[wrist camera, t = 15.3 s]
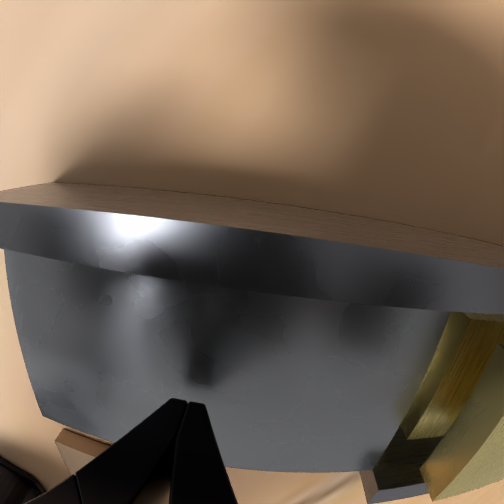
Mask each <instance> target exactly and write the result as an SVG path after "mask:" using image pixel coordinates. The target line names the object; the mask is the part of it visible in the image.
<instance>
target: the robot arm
mask: <svg viewBox="0 0 504 504" xmlns="http://www.w3.org/2000/svg"><path fill="white" fill-rule="evenodd" d="M75 475H76V476H75ZM75 475H74V474H72V475H71V476H69V477H68V478H67V479H65V480H64V481H62V482H61V483H59V484H58V485H56V486H55V487H53V488H52V489H50V490H48V491H47V492H45V491H44V490H43V488H42V487H41V485H40V484H39V482H38V481H37V480H36V479H35V478H34V477H32V476H31V475H29V474H27V473H25V472H23V471H21V470H20V469H18V468H16V467H14V466H13V465H11V464H9V463H8V462H6V461H5V460H3V459H1V458H0V504H168V503H169V504H238V503H237V500H236V497H235V494H234V492H233V489H232V486H231V483H230V480H229V477H228V475H227V472H226V469H225V466H224V463H223V460H222V457H221V454H220V450H219V447H218V444H217V441H216V438H215V435H214V431H213V428H212V425H211V421H210V418H209V415H208V411H207V408H206V405H205V404H203V403H198V402H193V401H190V402H187V401H186V400H182V399H177V398H170V399H169V400H167V401H166V402H165V403H164V404H163V405H161V406H160V407H159V408H158V409H157V410H155V411H154V412H153V413H152V414H150V415H149V416H148V417H147V418H145V419H144V420H143V421H142V422H140V423H139V424H138V425H137V426H135V427H134V428H133V429H132V430H130V431H129V432H128V433H127V434H125V435H124V436H123V437H122V438H120V439H119V440H118V441H116V442H115V443H114V444H112V445H111V446H110V447H109V448H107V449H106V450H105V451H103V452H102V453H101V454H99V455H98V456H97V457H95V458H94V459H93V460H91V461H90V462H89V463H87V464H86V465H85V466H83V467H82V468H81V469H79V470H78V471H76V472H75Z"/></svg>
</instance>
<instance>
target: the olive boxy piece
mask: <svg viewBox="0 0 504 504" xmlns="http://www.w3.org/2000/svg"><path fill="white" fill-rule="evenodd" d="M400 425H401V427H402V430H403V432H404V434H405V437H406V439H407V440H409V439H419V438H428V437H437V436H444V435H445V436H444V437H443V439H442V440H441V441H440V443H439V444H438V445H437V447H436V448H435V450H434V451H433V452H432V454H431V455H430V456H429V457H428V459H427V460H426V461H425V463H424V464H423V465H422V466H421V468H420V472H421V474H422V477H423V479H424V481H425V484H426V486H427V489H428V491H429V494H430V496H431V499H432V502H433V501H437V500H441V499H444V498H448V497H452V496H455V495H459V494H462V493H465V492H468V491H471V490H474V489H477V488H480V487H483V486H486V485H489V484H491V483H494V482H497V481H499V480H502V479H504V315H503V314H483V313H467V312H450V315H449V318H448V321H447V324H446V326H445V329H444V332H443V334H442V337H441V339H440V342H439V344H438V347H437V349H436V352H435V354H434V357H433V359H432V361H431V364H430V366H429V368H428V370H427V373H426V375H425V377H424V379H423V381H422V383H421V385H420V387H419V390H418V392H417V394H416V396H415V398H414V400H413V402H412V404H411V405H410V407H409V409H408V411H407V413H406V415H405V417H404V419H403V420H402V422H401V424H400Z"/></svg>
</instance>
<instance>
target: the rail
mask: <svg viewBox="0 0 504 504" xmlns="http://www.w3.org/2000/svg"><path fill="white" fill-rule="evenodd" d="M0 248H2V249H4V254H5V263H6V272H7V280H8V287H9V293H10V299H11V305H12V310H13V315H14V320H15V325H16V330H17V334H18V338H19V343H20V347H21V350H22V354H23V358H24V362H25V365H26V369H27V372H28V375H29V378H30V382H31V385H32V388H33V391H34V394H35V397H36V400H37V402H38V405H39V408H40V411H41V413H42V416H44V417H47V418H49V419H51V420H54V421H56V422H58V423H61V424H63V425H66V426H68V427H71V428H73V429H76V430H79V431H81V432H84V433H87V434H90V435H93V436H95V437H98V438H101V439H104V440H107V441H111V442H114V443H115V442H116V441H118V440H119V439H120V438H122V437H123V436H124V435H125V434H127V433H128V432H129V431H130V430H132V429H133V428H134V427H135V426H137V425H138V424H139V423H140V422H142V421H143V420H144V419H145V418H147V417H148V416H149V415H150V414H152V413H153V412H154V411H155V410H157V409H158V408H159V407H160V406H161V405H163V404H164V403H165V402H166V401H167V400H169V399H170V398H177V399H182V400H186V401H187V402H190V401H193V402H198V403H203V404H205V405H206V408H207V411H208V415H209V418H210V421H211V425H212V428H213V431H214V435H215V438H216V441H217V444H218V447H219V450H220V454H221V457H222V460H223V463H224V466H225V467H231V468H240V469H250V470H261V471H277V472H349V471H359V472H360V475H361V479H362V483H363V487H364V491H365V496H366V500H367V504H372V503H380V502H386V501H392V500H398V499H404V498H409V497H414V496H419V495H423V494H427V493H429V491H428V489H427V486H426V484H425V481H424V479H423V477H422V474H421V472H420V468H421V466H422V465H423V464H424V463H425V461H426V460H427V459H428V457H429V456H430V455H431V454H432V452H433V451H434V450H435V448H436V447H437V445H438V444H439V443H440V441H441V440H442V439H443V437H444V436H445V435H444V436H437V437H428V438H419V439H409V440H407V439H406V437H405V434H404V432H403V430H402V427H401V425H400V424H401V422H402V420H403V419H404V417H405V415H406V413H407V411H408V409H409V407H410V405H411V404H412V402H413V400H414V398H415V396H416V394H417V392H418V390H419V387H420V385H421V383H422V381H423V379H424V377H425V375H426V373H427V370H428V368H429V366H430V364H431V361H432V359H433V357H434V354H435V352H436V349H437V347H438V344H439V342H440V339H441V337H442V334H443V332H444V329H445V326H446V324H447V321H448V318H449V315H450V312H467V313H483V314H503V315H504V246H500V245H496V244H492V243H488V242H483V241H479V240H475V239H470V238H466V237H461V236H457V235H452V234H447V233H443V232H438V231H433V230H428V229H423V228H418V227H413V226H408V225H403V224H397V223H392V222H387V221H381V220H376V219H370V218H364V217H359V216H353V215H347V214H341V213H335V212H329V211H322V210H316V209H309V208H303V207H296V206H289V205H282V204H275V203H268V202H260V201H253V200H245V199H237V198H229V197H221V196H212V195H203V194H194V193H185V192H175V191H165V190H154V189H143V188H131V187H119V186H105V185H90V184H74V183H55V182H51V183H44V184H38V185H32V186H26V187H20V188H15V189H9V190H4V191H0Z"/></svg>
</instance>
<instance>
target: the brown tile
mask: <svg viewBox="0 0 504 504" xmlns="http://www.w3.org/2000/svg"><path fill="white" fill-rule="evenodd" d="M55 443H56V445H57V447H58V450H59V452H60V454H61V456H62V458H63V460H64V462H65V464H66V466H67V468H68V470H69V472H70V474H71V475H72V474H74V475H75V472H76V471H78V470H79V469H81V468H82V467H83V466H85V465H86V464H87V463H89V462H90V461H91V460H93V459H94V458H95V457H97V456H98V455H99V454H101V453H102V452H103V451H105V450H106V449H107V448H109V447H110V446H109V445H106V444H103V443H100V442H97V441H94V440H91V439H88V438H85V437H83V436H80V435H77V434H75V433H72V432H70V431H67V430H65V429H62V431H61V432H60V434H59V435H58V437H57V438H56V440H55ZM75 476H76V475H75ZM168 504H169V503H168Z"/></svg>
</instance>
